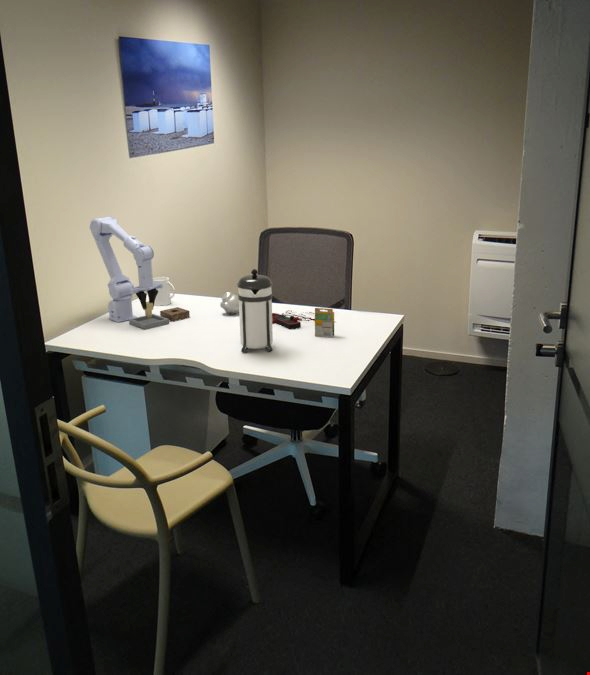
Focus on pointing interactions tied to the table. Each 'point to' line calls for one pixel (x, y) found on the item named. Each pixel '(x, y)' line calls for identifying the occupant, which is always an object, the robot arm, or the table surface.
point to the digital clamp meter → (288, 320)
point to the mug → (163, 291)
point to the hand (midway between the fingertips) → (148, 307)
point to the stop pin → (148, 310)
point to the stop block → (175, 313)
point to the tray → (149, 321)
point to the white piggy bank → (230, 303)
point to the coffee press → (255, 311)
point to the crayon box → (324, 322)
